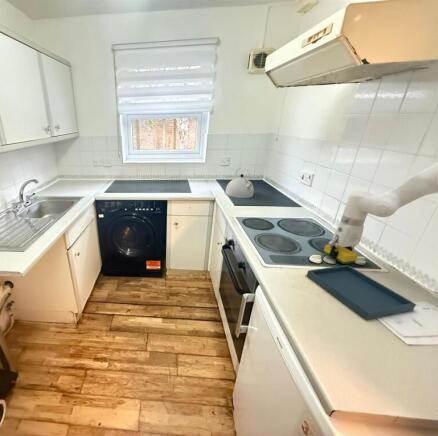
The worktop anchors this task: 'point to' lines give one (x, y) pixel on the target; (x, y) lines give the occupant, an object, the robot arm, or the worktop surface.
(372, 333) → the worktop surface
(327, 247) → the sponge
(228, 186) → the kettle
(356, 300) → the tray
